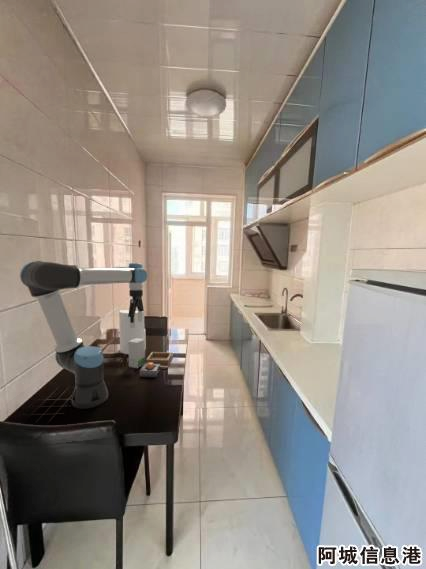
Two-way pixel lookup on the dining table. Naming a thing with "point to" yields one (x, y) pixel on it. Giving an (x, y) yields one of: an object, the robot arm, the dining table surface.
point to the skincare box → (136, 352)
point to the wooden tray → (160, 359)
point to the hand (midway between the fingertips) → (136, 324)
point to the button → (150, 365)
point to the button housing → (149, 371)
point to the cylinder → (130, 330)
